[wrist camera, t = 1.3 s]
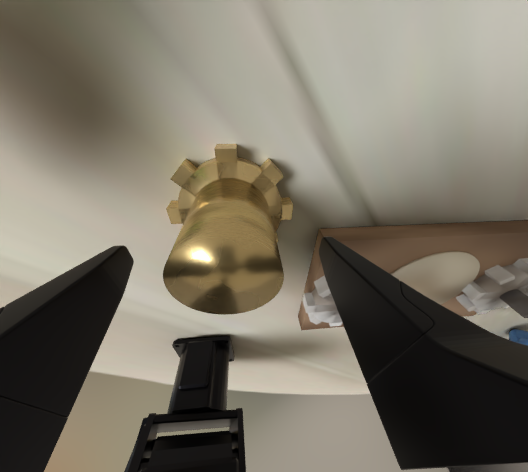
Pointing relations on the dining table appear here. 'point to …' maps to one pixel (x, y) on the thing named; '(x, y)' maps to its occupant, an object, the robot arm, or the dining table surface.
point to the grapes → (519, 336)
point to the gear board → (433, 266)
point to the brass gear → (226, 234)
